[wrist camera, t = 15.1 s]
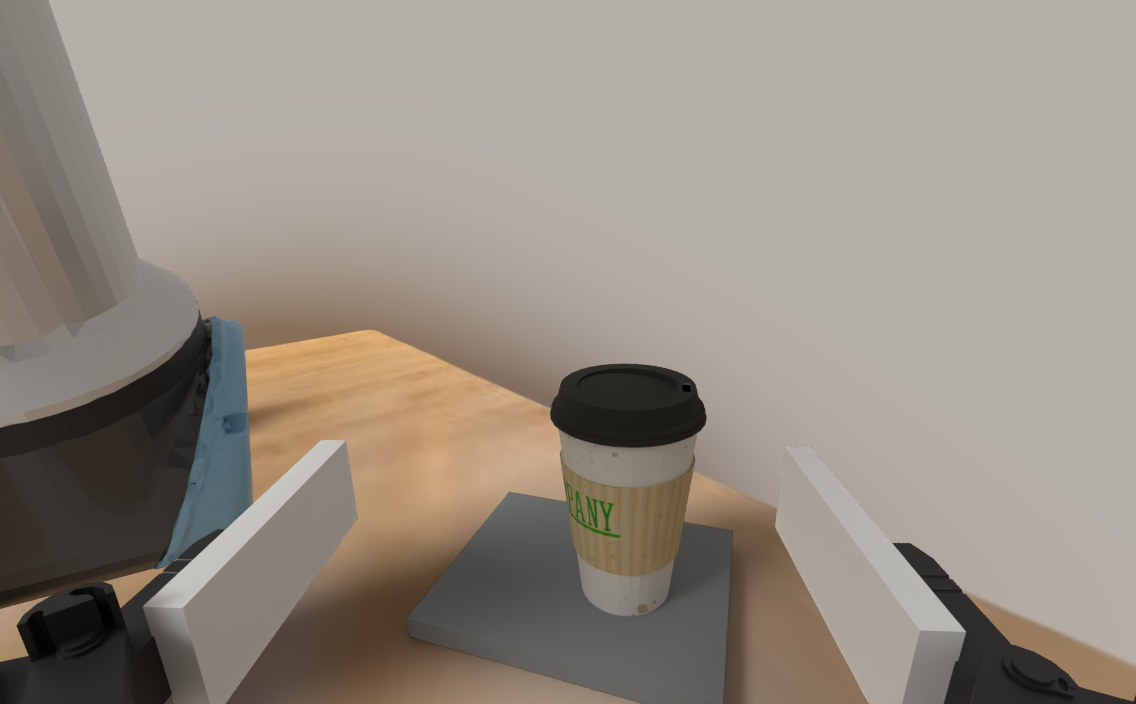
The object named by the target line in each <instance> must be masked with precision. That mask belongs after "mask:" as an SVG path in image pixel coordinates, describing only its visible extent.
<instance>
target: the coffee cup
mask: <svg viewBox="0 0 1136 704" xmlns="http://www.w3.org/2000/svg"><path fill="white" fill-rule="evenodd" d="M550 415H551V420H552V422H553V424H554V425H555V426H556V427H557V428H558V429H559V434H560V441H561V447H562V449H561V452H560V458H561V465H562V472H563V479H564V485H565V492H566V498H567V505H568V511H569V518H570V525H571V531H572V538H573V544H574V547H575V550H576V552H577V557H578V564H579V571H580V578H581V584H582V590H583V592H584V595H585V596H586V597H587V599H588V600H589V601H590V602H591V603H592V604H593V605H594V606H596V607H597V608H599V609H601V610H602V611H605V612H607V613H610V614H614V615H618V616H639V615H643V614H647V613H649V612H651V611H654V610H655V609H657V608H658V607H660V606H661V605H662V604H663V602H664V601H665V600H666V598H667V596H668V592H669V587H670V581H671V575H672V570H673V564H674V559H675V556H676V554H677V553H678V548H679V543H680V538H681V533H682V527H683V522H684V516H685V511H686V506H687V500H688V495H689V490H690V484H691V479H692V474H693V468H694V463H695V457H694V448H695V442H696V436H697V433H698V432H699V431H701V429H702V428H703V427H704V426H705V423H706V413H705V408H704V404H703V402H702V401H701V400H700V399H699V397H698V393H697V388H696V385H695V383H694V382H693V381H692V380H691V379H690V378H688V377H687V376H685V375H683V374H681V373H679V372H676V371H673V370H670V369H666V368H662V367H657V366H650V365H641V364H608V365H599V366H593V367H588V368H585V369H581V370H578V371H576V372H573V373H571V374H570V375H568V376H566V377H565V378H564V379H563V380H562V382H561V385H560V389H559V393H558V395H557V396H556V397H555V398H554V401H553V403H552V408H551V412H550Z"/></svg>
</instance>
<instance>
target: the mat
mask: <svg viewBox="0 0 1136 704" xmlns="http://www.w3.org/2000/svg"><path fill="white" fill-rule="evenodd" d="M732 537H733V531H732V530H726V529H720V528H714V527H709V526H703V525H697V524H691V523H686V522H683V527H682V533H681V538H680V543H679V548H678V553H677V554H676V556H675V559H674V564H673V570H672V575H671V581H670V587H669V592H668V596H667V598H666V600H665V601H664V602H663V604H662V605H661V606H660V607H658V608H657V609H655V610H654V611H651V612H649V613H647V614H643V615H639V616H618V615H614V614H610V613H607V612H605V611H602V610H601V609H599V608H597V607H596V606H594V605H593V604H592V603H591V602H590V601H589V600H588V599H587V597H586V596H585V595H584V592H583V590H582V584H581V578H580V571H579V564H578V557H577V552H576V550H575V547H574V544H573V538H572V531H571V525H570V518H569V511H568V505H567V502H565V501H559V500H553V499H548V498H542V497H536V496H530V495H525V494H519V493H513V492H509V493H508V494H507V495H506V496H505V498H504V499H503V500H502V501H501V503H500V504H499V505H498V506H497V508H496V509H495V510H494V511H493V512H492V514H491V515H490V516H489V517H488V519H487V520H486V521H485V522H484V524H483V525H482V526H481V527H480V529H479V530H478V531H477V532H476V533H475V535H474V536H473V537H472V538H471V540H470V541H469V542H468V543H467V545H466V546H465V547H464V548H463V550H462V551H461V552H460V553H459V554H458V556H457V557H456V558H455V559H454V561H453V562H452V563H451V564H450V566H449V567H448V568H447V569H446V571H445V572H444V573H443V574H442V575H441V577H440V578H439V579H438V580H437V582H436V583H435V584H434V585H433V587H432V588H431V589H430V590H429V592H428V593H427V594H426V595H425V596H424V598H423V599H422V600H421V601H420V603H419V604H418V605H417V606H416V608H415V609H414V610H413V611H412V613H411V614H410V615H409V616H408V617H407V623H408V631H409V637H413V638H416V639H420V640H423V641H427V642H430V643H434V644H437V645H440V646H444V647H447V648H451V649H454V650H458V651H461V652H465V653H468V654H472V655H475V656H479V657H482V658H486V659H489V660H493V661H496V662H500V663H503V664H507V665H510V666H514V667H517V668H521V669H524V670H528V671H531V672H535V673H538V674H542V675H545V676H549V677H552V678H556V679H559V680H563V681H566V682H570V683H573V684H577V685H580V686H584V687H587V688H591V689H594V690H598V691H601V692H605V693H608V694H612V695H615V696H619V697H622V698H626V699H629V700H633V701H636V702H640V703H643V704H723V696H724V678H725V660H726V643H727V625H728V607H729V590H730V572H731V554H732Z"/></svg>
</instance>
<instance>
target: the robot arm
mask: <svg viewBox="0 0 1136 704" xmlns="http://www.w3.org/2000/svg"><path fill="white" fill-rule="evenodd" d="M357 519H358V517H357V510H356V503H355V497H354V490H353V484H352V477H351V470H350V464H349V457H348V451H347V444H346V441H342V440H321V441H320V442H319V443H318V444H317V445H316V446H315V447H314V448H313V449H311V450H310V451H309V452H308V453H307V454H306V455H305V456H304V457H303V458H302V459H301V460H300V461H299V462H297V463H296V464H295V465H294V466H293V467H292V468H291V469H290V470H289V471H288V472H287V473H286V474H285V475H283V476H282V477H281V478H280V479H279V480H278V481H277V482H276V483H275V484H274V485H273V486H272V487H271V488H270V489H268V490H267V491H266V492H265V493H264V494H263V495H262V496H261V497H260V498H259V499H258V500H257V501H256V502H254V503H253V487H252V469H251V452H250V438H249V422H248V401H247V379H246V363H245V347H244V333H243V327H242V326H241V324H240V323H239V322H237V321H235V320H231V319H221V318H218V317H216V316H215V317H214V316H213V317H209V318H207V319H204V320H202V318H201V315H200V311H199V308H198V304H197V301H196V299H195V297H194V295H193V293H192V291H191V289H190V287H189V286H188V284H186V283H185V282H184V281H183V280H182V279H181V278H179V277H178V276H176V275H175V274H173V273H171V272H170V271H167V270H165V269H163V268H161V267H158V266H156V265H153V264H151V263H149V262H147V261H144V260H142V259H139V258H138V256H137V253H136V250H135V247H134V245H133V241H132V239H131V236H130V233H129V230H128V227H127V225H126V222H125V219H124V216H123V213H122V210H121V207H120V204H119V201H118V198H117V196H116V193H115V190H114V187H113V184H112V181H111V178H110V176H109V173H108V170H107V167H106V164H105V161H104V158H103V155H102V153H101V150H100V147H99V144H98V141H97V138H96V136H95V133H94V130H93V127H92V124H91V121H90V118H89V116H88V113H87V110H86V107H85V104H84V101H83V98H82V96H81V93H80V90H79V87H78V84H77V81H76V78H75V75H74V72H73V70H72V67H71V64H70V61H69V58H68V55H67V53H66V49H65V47H64V44H63V41H62V38H61V35H60V32H59V29H58V27H57V24H56V21H55V18H54V15H53V12H52V9H51V7H50V4H49V1H48V0H0V609H1V608H5V607H9V606H12V605H16V604H20V603H24V602H28V601H32V600H35V599H39V598H43V597H47V596H50V597H48V598H47V599H45V600H43V601H41V602H40V603H38V604H36V605H35V606H34V607H33V608H32V609H30V610H29V611H28V612H27V613H26V614H24V615H23V617H22V618H21V620H20V621H19V623H18V624H17V628H18V630H19V633H20V635H21V638H22V640H23V643H24V645H25V648H26V650H27V652H28V655H29V656H26V657H22V658H17V659H12V660H7V661H3V662H0V704H164V703H165V701H166V700H167V699H168V698H169V697H170V695H171V699H172V702H173V704H226V703H227V701H228V700H229V698H230V697H231V695H232V694H233V693H234V691H235V690H236V688H237V687H238V686H239V684H240V683H241V681H242V680H243V679H244V677H245V676H246V674H247V673H248V672H249V670H250V669H251V667H252V666H253V665H254V663H255V662H256V660H257V659H258V658H259V656H260V655H261V653H262V652H263V651H264V649H265V648H266V646H267V645H268V644H269V642H270V641H271V639H272V638H273V637H274V635H275V634H276V632H277V631H278V630H279V628H280V627H281V625H282V624H283V622H284V621H285V620H286V618H287V617H288V615H289V614H290V613H291V611H292V610H293V608H294V607H295V606H296V604H297V603H298V601H299V600H300V599H301V597H302V596H303V594H304V593H305V592H306V590H307V589H308V587H309V586H310V585H311V583H312V582H313V580H314V579H315V578H316V576H317V575H318V573H319V572H320V571H321V569H322V568H323V566H324V565H325V564H326V562H327V561H328V559H329V558H330V557H331V555H332V554H333V552H334V551H335V549H336V548H337V547H338V545H339V544H340V542H341V541H342V540H343V538H344V537H345V535H346V534H347V533H348V531H349V530H350V528H351V527H352V526H353V524H354V523H355V521H356V520H357ZM775 528H776V530H777V532H778V534H779V536H780V538H781V540H782V542H783V543H784V545H785V547H786V549H787V551H788V553H789V555H790V557H791V559H792V560H793V562H794V564H795V566H796V568H797V570H798V572H799V574H800V576H801V577H802V579H803V581H804V583H805V585H806V587H807V589H808V591H809V593H810V594H811V596H812V598H813V600H814V602H815V604H816V606H817V608H818V610H819V611H820V613H821V615H822V617H823V619H824V621H825V623H826V625H827V627H828V628H829V630H830V632H831V634H832V636H833V638H834V640H835V642H836V644H837V645H838V647H839V649H840V651H841V653H842V655H843V657H844V659H845V660H846V662H847V664H848V666H849V668H850V670H851V672H852V674H853V676H854V677H855V679H856V681H857V683H858V685H859V687H860V689H861V691H862V693H863V694H864V696H865V698H866V700H867V702H868V704H1136V696H1135V699H1134V701H1129V700H1125V699H1121V698H1118V697H1114V696H1110V695H1107V694H1103V693H1099V692H1095V691H1092V690H1088V689H1084V688H1081V687H1079V686H1078V685H1077V684H1076V683H1075V682H1074V680H1073V679H1072V678H1071V677H1070V676H1069V675H1068V674H1067V673H1066V672H1065V671H1063V670H1062V669H1061V668H1060V667H1058V666H1057V665H1056V664H1054V663H1053V662H1052V661H1050V660H1048V659H1046V658H1044V657H1043V656H1041V655H1039V654H1037V653H1035V652H1033V651H1030V650H1027V649H1024V648H1021V647H1018V646H1016V645H1011V644H1010V642H1009V641H1008V640H1007V639H1006V638H1005V637H1004V636H1003V635H1002V634H1001V633H1000V631H999V630H998V629H997V628H996V627H995V626H994V625H993V624H992V623H991V622H990V620H989V619H988V618H987V617H986V616H985V615H984V614H983V613H982V612H981V611H980V610H979V608H978V607H977V606H976V605H975V604H974V603H973V602H972V601H971V600H970V599H969V597H968V596H967V595H966V594H963V593H962V590H961V589H960V588H959V586H958V585H956V583H955V582H954V581H953V580H952V579H949V575H948V574H947V573H946V572H945V571H944V570H943V569H942V568H941V567H940V566H939V564H938V563H937V562H936V561H935V560H934V559H933V558H931V557H930V556H928V555H927V554H926V553H924V552H923V551H921V550H920V549H918V548H916V547H915V546H913V545H912V544H910V543H892V542H891V541H890V540H889V539H888V538H887V536H886V535H885V534H884V533H883V532H882V530H881V529H880V528H879V527H878V526H877V524H876V523H875V522H874V521H873V520H872V518H871V517H870V516H869V515H868V514H867V512H866V511H865V510H864V509H863V508H862V507H861V505H860V504H859V503H858V502H857V500H856V499H855V498H854V497H853V496H852V495H851V493H850V492H849V491H848V490H847V489H846V487H845V486H844V485H843V484H842V483H841V481H840V480H839V479H838V478H837V477H836V476H835V474H834V473H833V472H832V471H831V469H830V468H829V467H828V466H827V465H826V463H825V462H824V461H823V460H822V459H821V457H820V456H819V455H818V454H817V453H816V452H815V450H814V449H813V448H812V447H785V453H784V461H783V469H782V477H781V484H780V492H779V499H778V507H777V515H776V523H775ZM174 560H177V561H174ZM168 565H169V566H168ZM166 566H168V567H166ZM164 567H166V568H165V569H164V570H163V573H162V574H159V575H158V576H156V577H155V578H154V579H153V580H152V581H151V582H150V583H149V584H147V585H146V586H145V587H144V588H143V589H142V590H141V591H140V592H138V593H137V594H136V595H135V596H134V597H133V598H132V599H131V600H129V601H128V602H127V603H126V604H125V605H124V606H123V607H122V608H120V606H119V603H118V600H117V597H116V594H115V591H114V589H113V587H112V585H111V584H108V583H105V582H104V581H108V580H112V579H115V578H119V577H123V576H127V575H131V574H134V573H138V572H142V571H146V570H150V569H153V568H154V569H160V568H164ZM51 595H52V596H51Z"/></svg>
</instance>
